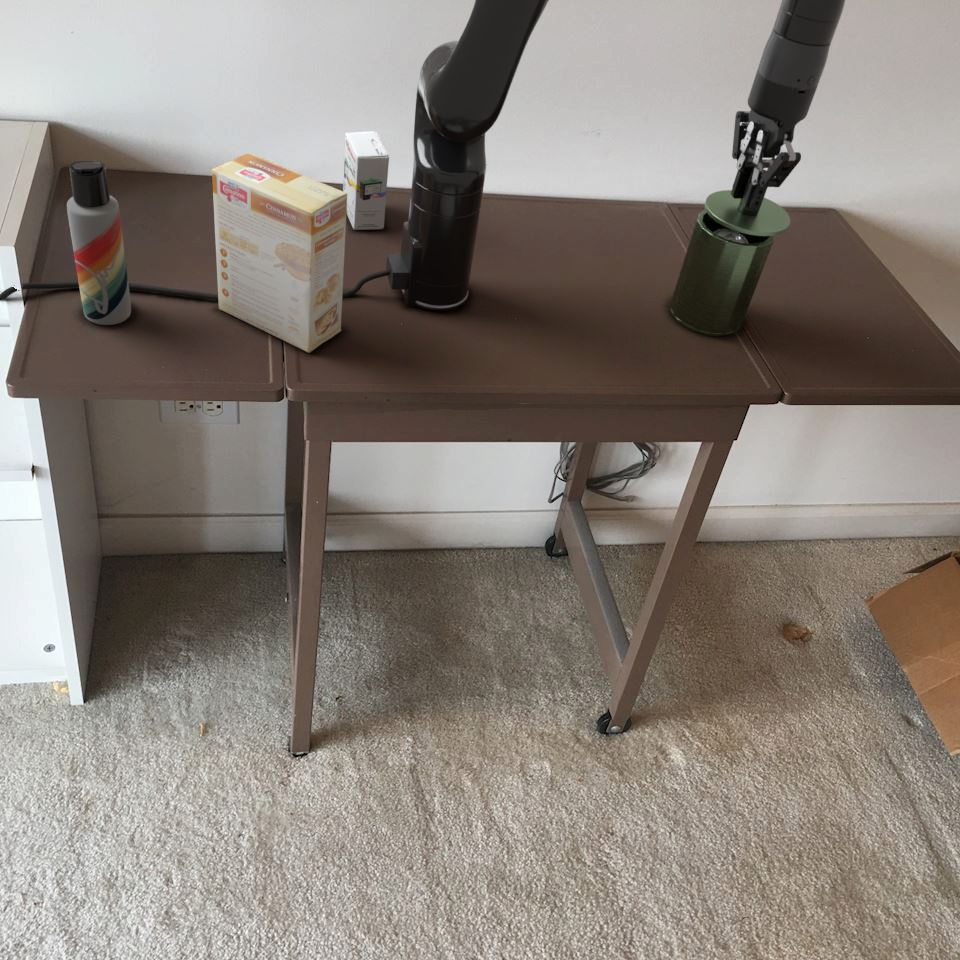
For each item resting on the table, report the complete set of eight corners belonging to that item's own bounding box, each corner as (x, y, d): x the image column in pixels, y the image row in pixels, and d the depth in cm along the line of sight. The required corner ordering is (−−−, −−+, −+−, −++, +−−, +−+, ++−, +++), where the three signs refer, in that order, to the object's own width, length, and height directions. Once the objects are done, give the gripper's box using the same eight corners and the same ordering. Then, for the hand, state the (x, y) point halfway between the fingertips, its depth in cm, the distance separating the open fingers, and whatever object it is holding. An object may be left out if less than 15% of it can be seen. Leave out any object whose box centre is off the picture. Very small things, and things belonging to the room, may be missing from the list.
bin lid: (743, 246, 126) (759, 199, 122) (685, 204, 133) (699, 158, 129) (805, 232, 132) (823, 187, 127) (747, 193, 138) (762, 148, 134)
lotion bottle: (83, 327, 120) (58, 174, 107) (84, 301, 124) (60, 151, 111) (132, 325, 122) (113, 175, 108) (131, 300, 126) (113, 152, 112)
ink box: (340, 203, 152) (344, 129, 144) (371, 202, 154) (376, 130, 146) (352, 230, 146) (356, 156, 138) (384, 229, 148) (390, 155, 140)
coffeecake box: (342, 330, 127) (350, 192, 114) (308, 355, 122) (312, 213, 109) (253, 287, 132) (249, 149, 118) (216, 309, 127) (209, 168, 114)
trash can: (701, 342, 137) (733, 251, 127) (655, 302, 143) (682, 212, 134) (755, 328, 142) (790, 239, 132) (708, 290, 148) (738, 202, 138)
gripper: (736, 50, 123) (696, 179, 134) (790, 96, 113) (743, 230, 125) (787, 52, 125) (744, 179, 136) (844, 97, 115) (793, 229, 127)
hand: (744, 202), depth 131 cm, fingers closed on bin lid, 3 cm apart
